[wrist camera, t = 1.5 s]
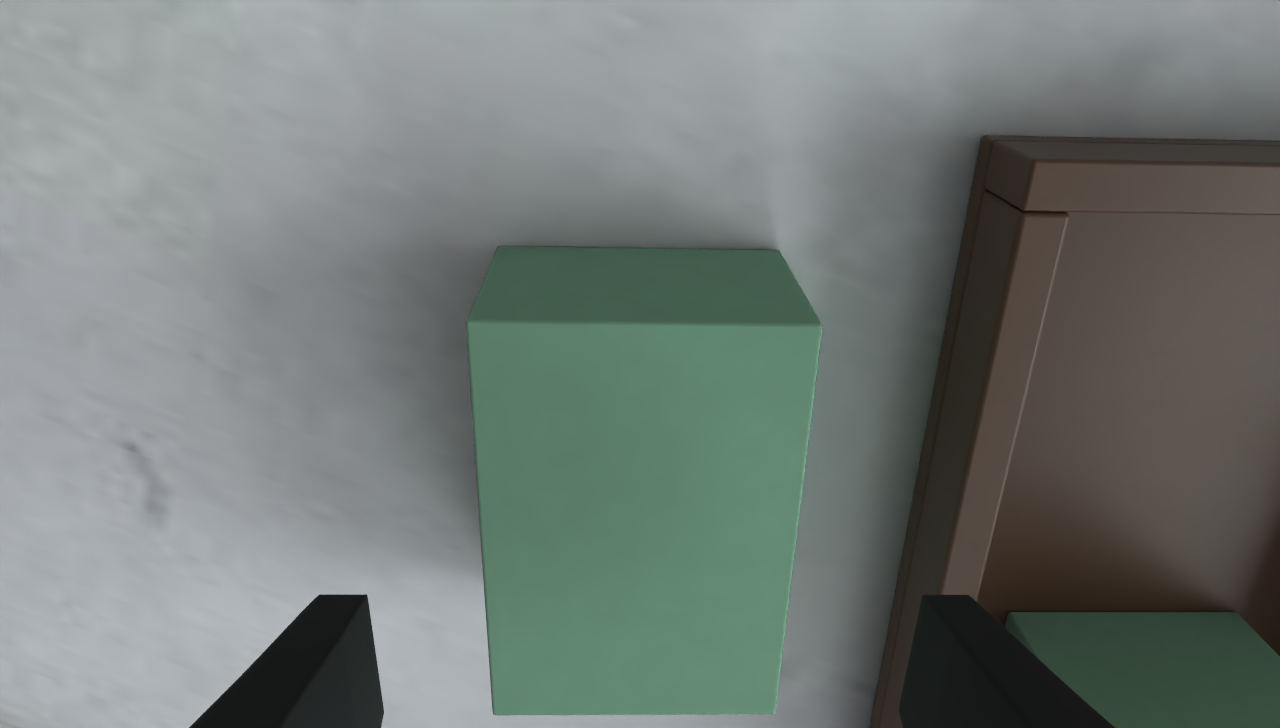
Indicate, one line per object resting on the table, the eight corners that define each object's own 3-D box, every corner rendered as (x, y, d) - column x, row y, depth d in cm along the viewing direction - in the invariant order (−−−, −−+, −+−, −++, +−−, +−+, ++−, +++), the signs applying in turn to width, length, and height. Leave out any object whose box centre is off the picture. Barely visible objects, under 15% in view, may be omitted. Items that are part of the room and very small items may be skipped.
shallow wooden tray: (1202, 857, 22) (1254, 935, 21) (843, 861, 22) (863, 940, 20) (1529, 145, 15) (1659, 169, 13) (980, 134, 14) (1032, 159, 12)
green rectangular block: (747, 585, 18) (775, 715, 15) (514, 585, 18) (493, 716, 15) (780, 249, 15) (824, 324, 12) (497, 245, 15) (464, 319, 12)
